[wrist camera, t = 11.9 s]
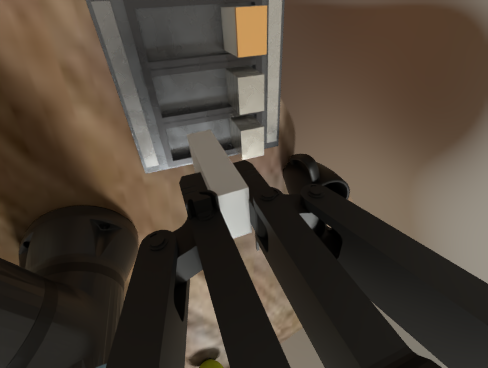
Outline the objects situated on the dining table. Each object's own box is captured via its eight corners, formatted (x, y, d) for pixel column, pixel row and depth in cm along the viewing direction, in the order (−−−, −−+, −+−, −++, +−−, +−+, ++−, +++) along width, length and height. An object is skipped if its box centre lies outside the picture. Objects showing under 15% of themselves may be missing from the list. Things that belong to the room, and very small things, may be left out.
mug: (306, 123, 40) (344, 149, 32) (320, 174, 47) (352, 205, 40) (262, 148, 40) (290, 180, 32) (283, 195, 47) (309, 230, 40)
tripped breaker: (224, 50, 28) (238, 57, 24) (220, 7, 26) (235, 7, 22) (248, 47, 29) (266, 54, 25) (247, 5, 27) (267, 5, 22)
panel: (145, 168, 35) (146, 194, 30) (84, -12, 23) (68, -16, 18) (274, 141, 40) (293, 161, 35) (279, -19, 28) (309, -25, 23)
